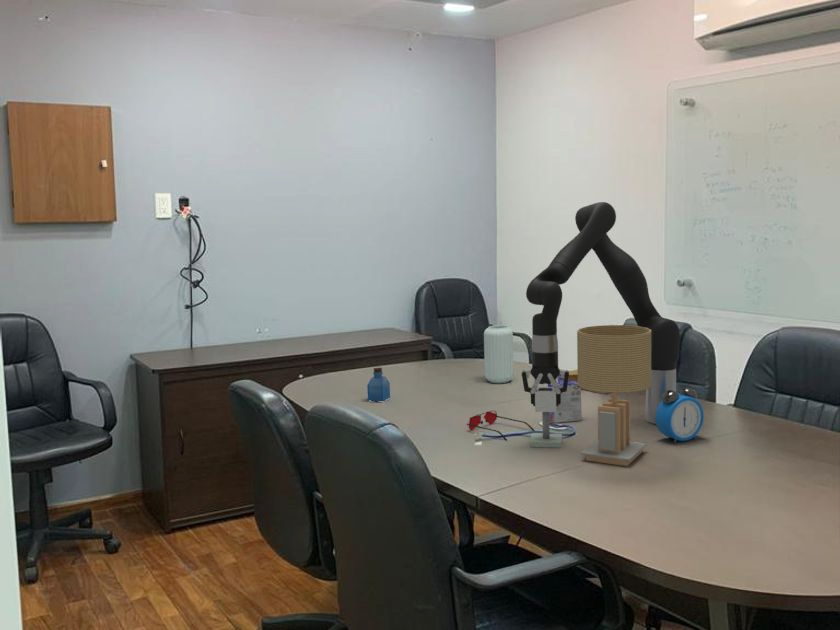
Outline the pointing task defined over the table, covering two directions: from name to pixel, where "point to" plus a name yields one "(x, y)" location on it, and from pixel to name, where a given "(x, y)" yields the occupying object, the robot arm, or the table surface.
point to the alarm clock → (679, 414)
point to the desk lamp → (614, 384)
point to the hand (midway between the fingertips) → (545, 405)
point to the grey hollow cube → (545, 399)
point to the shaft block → (546, 435)
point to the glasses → (488, 421)
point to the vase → (498, 354)
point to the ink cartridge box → (568, 403)
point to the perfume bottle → (378, 386)
